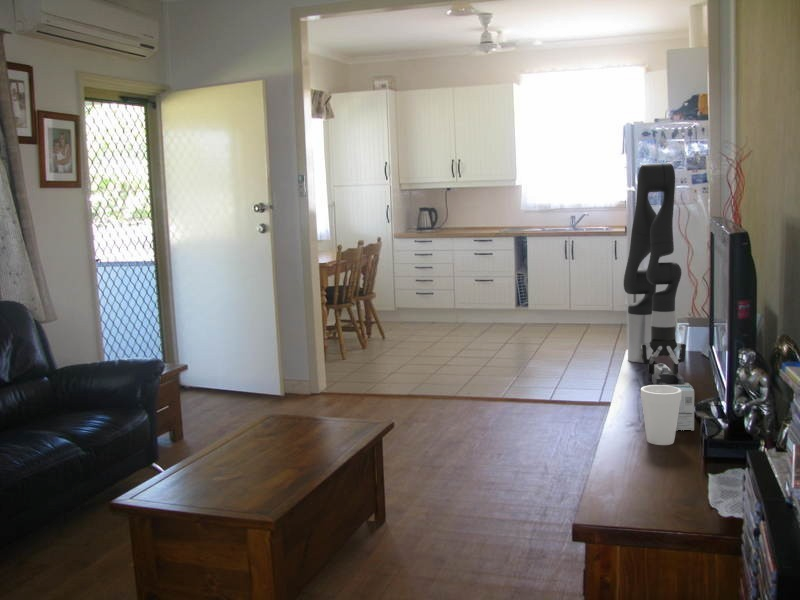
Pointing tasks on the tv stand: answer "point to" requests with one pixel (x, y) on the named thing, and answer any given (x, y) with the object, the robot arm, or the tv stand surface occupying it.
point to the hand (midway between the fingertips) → (662, 375)
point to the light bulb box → (685, 408)
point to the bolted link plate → (661, 369)
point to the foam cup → (660, 412)
